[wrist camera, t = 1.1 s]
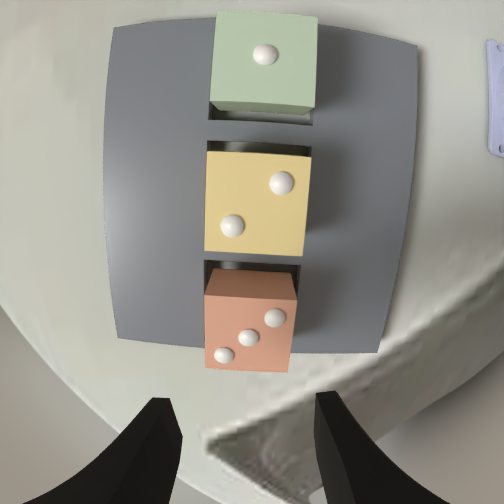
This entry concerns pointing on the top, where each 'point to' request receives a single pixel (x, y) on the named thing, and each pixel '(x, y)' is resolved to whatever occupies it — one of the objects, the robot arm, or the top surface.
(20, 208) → the top surface
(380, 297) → the grey slotted tray
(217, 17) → the tile one pip
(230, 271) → the tile three pips
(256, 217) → the tile two pips
